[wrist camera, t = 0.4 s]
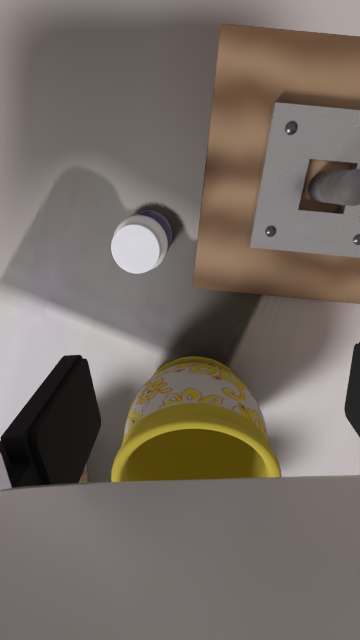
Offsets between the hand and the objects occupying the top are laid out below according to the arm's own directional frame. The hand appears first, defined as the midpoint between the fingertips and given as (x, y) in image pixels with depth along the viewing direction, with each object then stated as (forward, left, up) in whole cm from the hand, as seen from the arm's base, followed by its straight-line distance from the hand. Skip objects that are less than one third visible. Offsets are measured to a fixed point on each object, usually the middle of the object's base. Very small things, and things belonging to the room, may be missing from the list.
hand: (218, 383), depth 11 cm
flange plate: (-7, +16, -28) cm, 33 cm away
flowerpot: (+23, +2, -30) cm, 38 cm away
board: (-7, +13, -30) cm, 33 cm away
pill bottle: (0, -6, -30) cm, 31 cm away
